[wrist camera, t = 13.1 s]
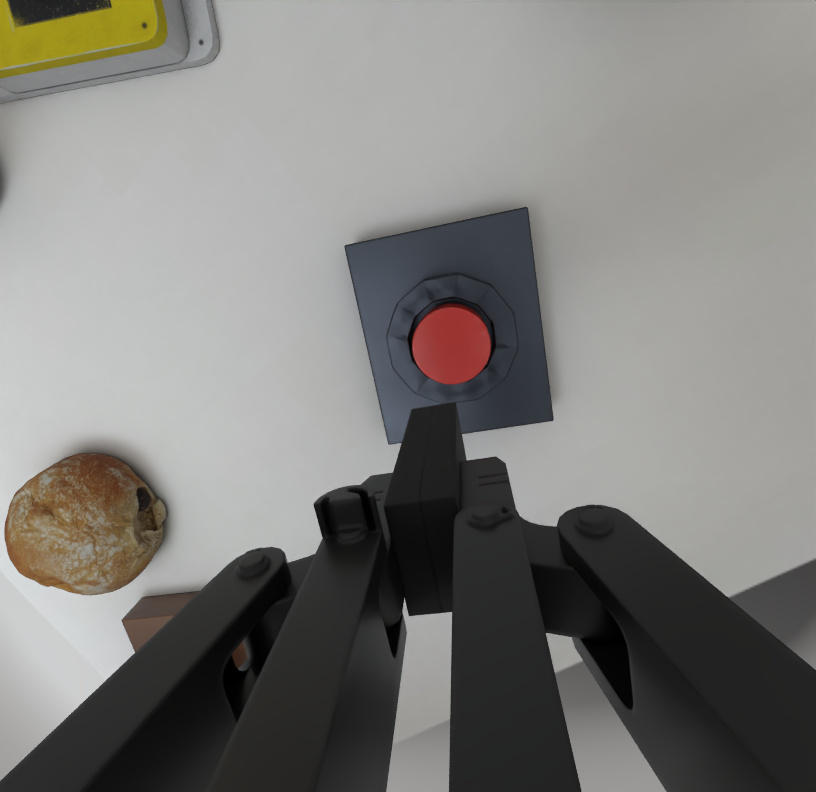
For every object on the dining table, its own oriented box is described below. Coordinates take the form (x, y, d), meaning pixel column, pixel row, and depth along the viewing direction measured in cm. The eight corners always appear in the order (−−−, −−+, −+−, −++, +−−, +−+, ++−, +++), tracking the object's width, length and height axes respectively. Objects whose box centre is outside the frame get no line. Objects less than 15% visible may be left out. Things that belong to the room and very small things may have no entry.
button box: (547, 409, 31) (559, 432, 27) (393, 432, 32) (384, 457, 29) (522, 209, 28) (532, 203, 24) (352, 245, 29) (336, 245, 25)
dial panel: (286, 698, 40) (275, 729, 38) (184, 705, 42) (166, 735, 39) (249, 585, 37) (233, 610, 35) (140, 597, 39) (118, 621, 36)
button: (494, 369, 27) (496, 378, 25) (422, 381, 27) (420, 390, 26) (483, 296, 26) (484, 300, 24) (408, 310, 26) (405, 315, 25)
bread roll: (198, 527, 40) (185, 570, 33) (73, 597, 38) (28, 660, 31) (132, 423, 38) (101, 443, 31) (-5, 491, 36) (-75, 530, 28)
